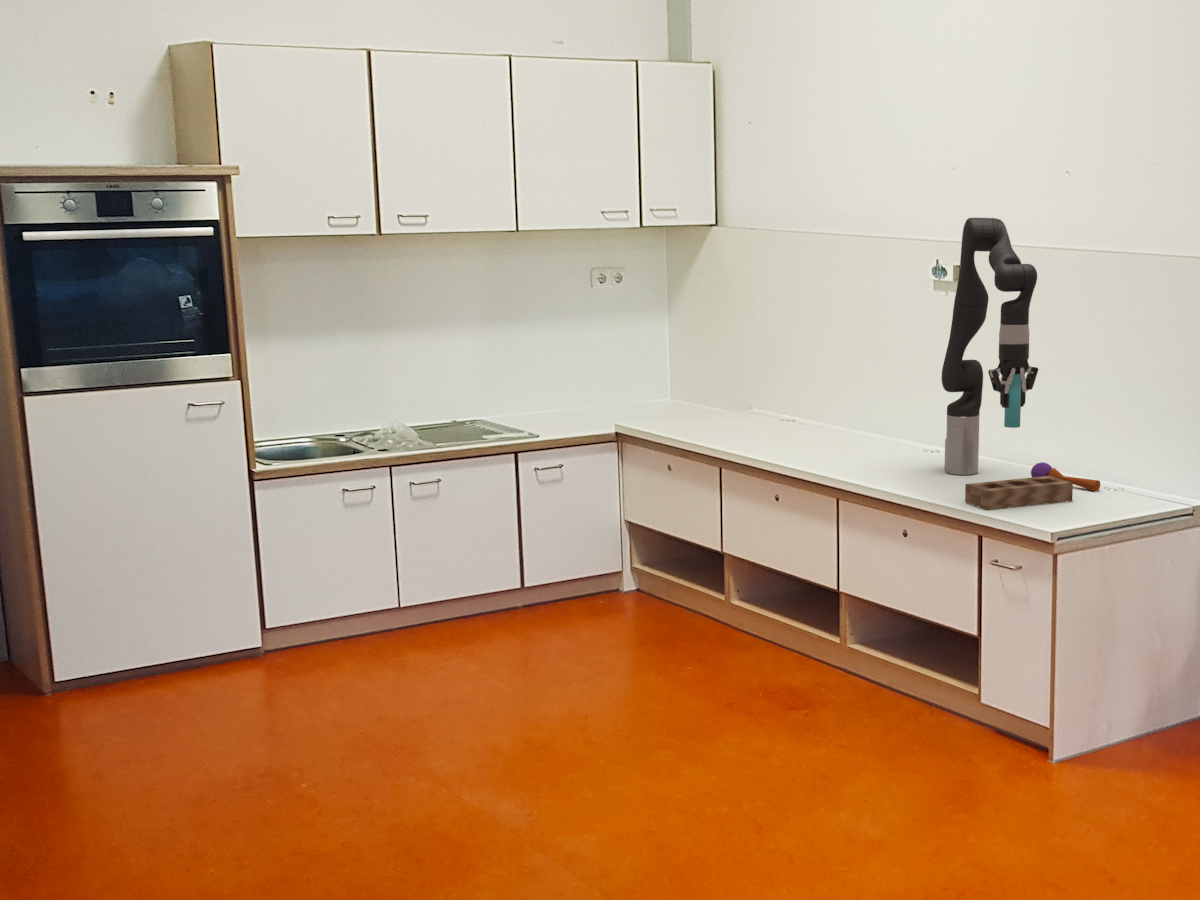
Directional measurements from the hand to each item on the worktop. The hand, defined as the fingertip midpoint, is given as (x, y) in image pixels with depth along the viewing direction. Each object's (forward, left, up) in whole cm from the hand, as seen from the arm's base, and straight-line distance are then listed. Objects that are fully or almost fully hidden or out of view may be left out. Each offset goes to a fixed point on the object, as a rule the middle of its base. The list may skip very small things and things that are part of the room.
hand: (1012, 406), depth 350 cm
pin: (0, 0, -5) cm, 5 cm away
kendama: (-11, +25, -26) cm, 37 cm away
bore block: (+1, +2, -26) cm, 26 cm away
